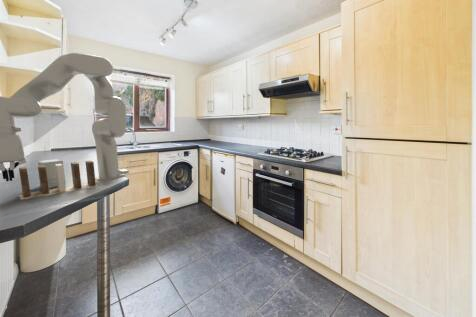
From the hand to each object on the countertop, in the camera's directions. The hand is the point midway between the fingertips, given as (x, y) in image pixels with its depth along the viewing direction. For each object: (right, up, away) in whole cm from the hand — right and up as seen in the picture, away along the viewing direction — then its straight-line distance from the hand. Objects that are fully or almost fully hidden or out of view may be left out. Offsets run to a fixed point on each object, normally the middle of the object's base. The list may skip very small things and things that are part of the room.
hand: (9, 180), depth 84 cm
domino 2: (+10, -5, +12) cm, 17 cm away
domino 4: (+18, -4, +20) cm, 27 cm away
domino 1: (+7, -6, +8) cm, 12 cm away
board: (+10, -6, +12) cm, 17 cm away
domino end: (+3, -6, +4) cm, 8 cm away
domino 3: (+14, -5, +16) cm, 22 cm away
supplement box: (+1, -5, +19) cm, 20 cm away
